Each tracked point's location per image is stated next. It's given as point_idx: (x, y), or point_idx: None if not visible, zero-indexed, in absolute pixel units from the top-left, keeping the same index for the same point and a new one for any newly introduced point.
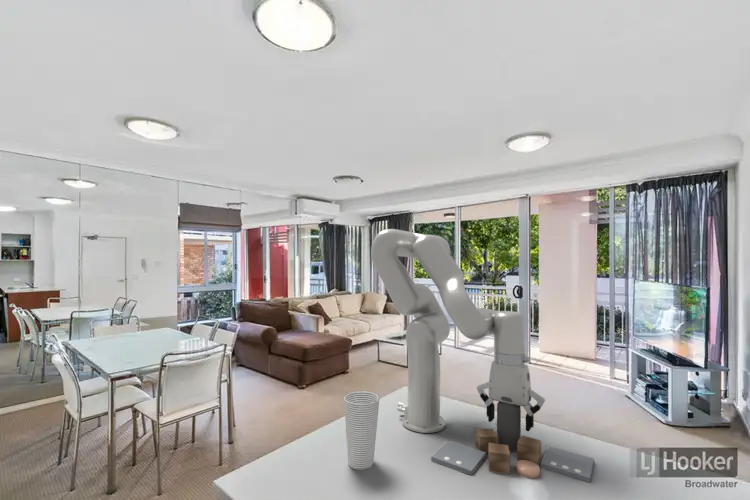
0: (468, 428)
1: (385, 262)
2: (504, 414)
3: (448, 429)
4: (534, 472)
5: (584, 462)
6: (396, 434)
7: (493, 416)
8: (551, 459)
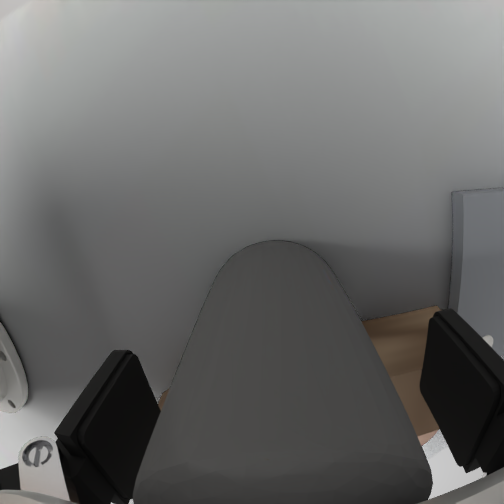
0: (41, 265)
1: None
2: None
3: (20, 332)
4: (426, 441)
5: None
6: (14, 431)
7: (136, 388)
8: (479, 320)
